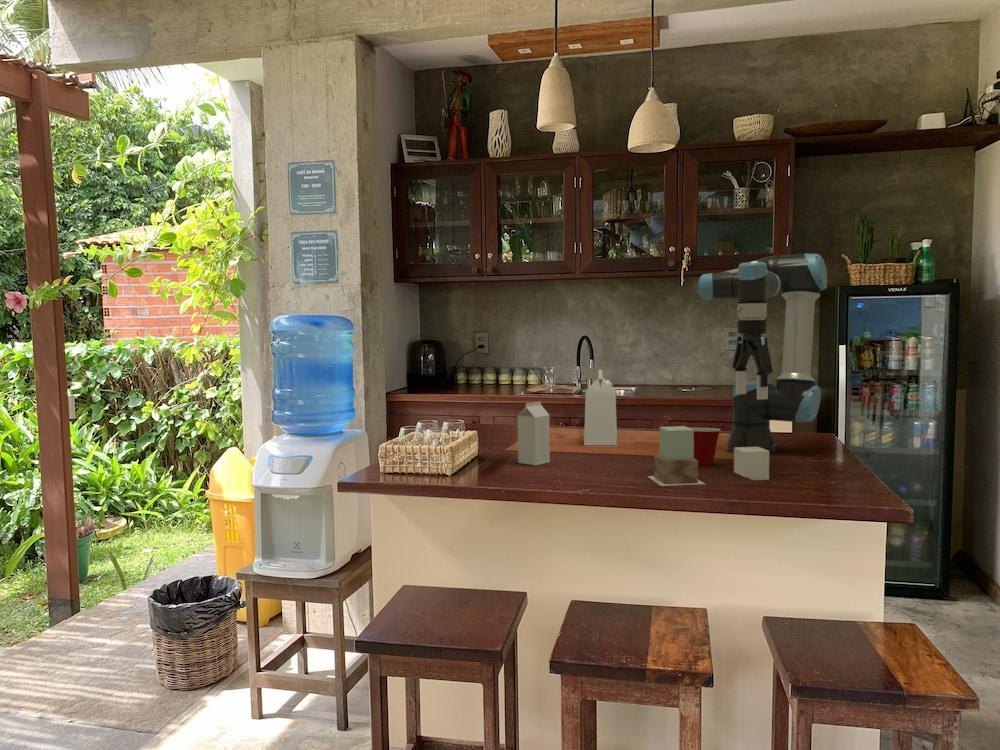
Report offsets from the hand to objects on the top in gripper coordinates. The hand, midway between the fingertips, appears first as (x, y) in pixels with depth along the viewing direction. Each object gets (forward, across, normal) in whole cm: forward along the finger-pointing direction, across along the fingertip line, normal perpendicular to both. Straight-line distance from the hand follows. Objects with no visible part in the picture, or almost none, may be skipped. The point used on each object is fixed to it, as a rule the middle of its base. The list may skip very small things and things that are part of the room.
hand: (751, 396), depth 211 cm
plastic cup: (+23, -16, -8) cm, 29 cm away
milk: (+23, -64, -27) cm, 73 cm away
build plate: (+22, +4, -23) cm, 32 cm away
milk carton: (+23, -32, -56) cm, 68 cm away
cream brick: (+23, 0, 0) cm, 23 cm away
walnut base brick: (+22, +4, -23) cm, 32 cm away
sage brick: (+16, +4, -23) cm, 28 cm away
